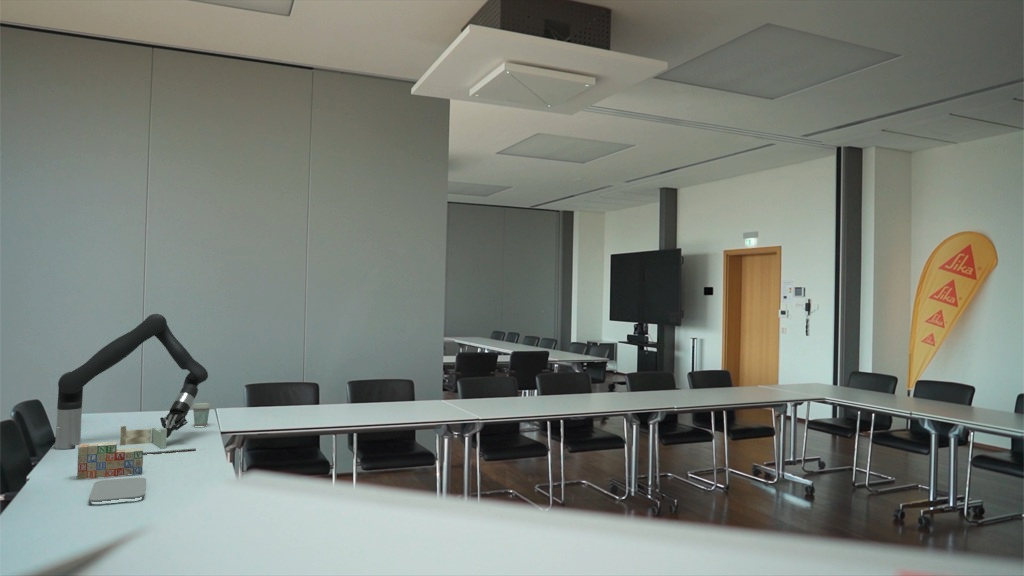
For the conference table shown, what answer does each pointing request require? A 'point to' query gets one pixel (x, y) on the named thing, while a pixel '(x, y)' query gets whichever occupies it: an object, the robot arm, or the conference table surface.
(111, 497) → the tablet
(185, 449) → the board
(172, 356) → the robot arm
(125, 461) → the stack of blocks
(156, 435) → the hinged fence panel
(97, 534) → the conference table surface
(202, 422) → the coffee cup
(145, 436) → the fixed fence panel
